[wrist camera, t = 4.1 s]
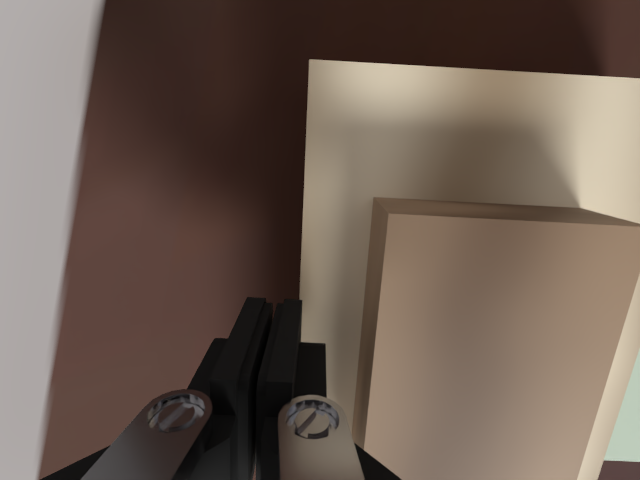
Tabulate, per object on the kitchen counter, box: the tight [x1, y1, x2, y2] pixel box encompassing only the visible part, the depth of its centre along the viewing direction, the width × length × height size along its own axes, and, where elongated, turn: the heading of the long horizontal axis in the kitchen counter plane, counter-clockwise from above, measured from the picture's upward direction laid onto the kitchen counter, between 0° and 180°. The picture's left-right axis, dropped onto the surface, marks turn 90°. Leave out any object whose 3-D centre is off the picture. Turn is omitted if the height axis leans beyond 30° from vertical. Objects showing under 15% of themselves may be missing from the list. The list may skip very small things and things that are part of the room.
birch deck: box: [299, 59, 640, 480], centre depth 14 cm, size 11×16×4 cm
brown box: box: [352, 197, 640, 480], centre depth 11 cm, size 6×9×2 cm, turn 177°
